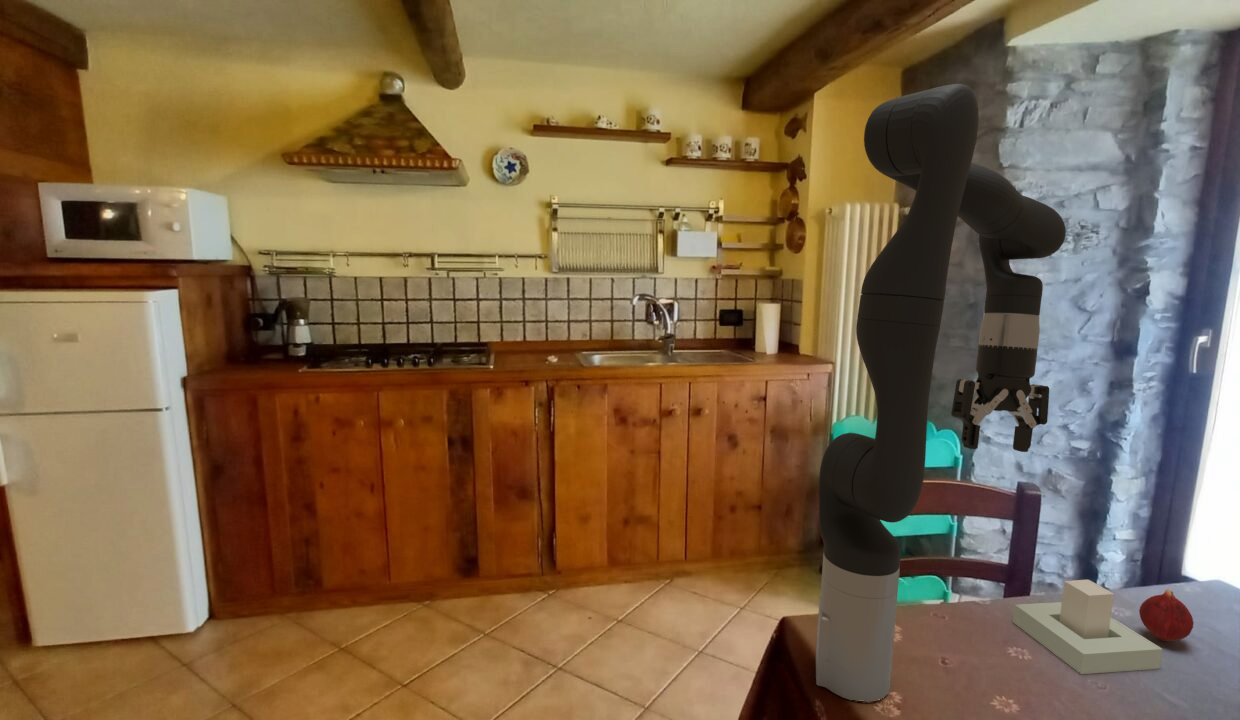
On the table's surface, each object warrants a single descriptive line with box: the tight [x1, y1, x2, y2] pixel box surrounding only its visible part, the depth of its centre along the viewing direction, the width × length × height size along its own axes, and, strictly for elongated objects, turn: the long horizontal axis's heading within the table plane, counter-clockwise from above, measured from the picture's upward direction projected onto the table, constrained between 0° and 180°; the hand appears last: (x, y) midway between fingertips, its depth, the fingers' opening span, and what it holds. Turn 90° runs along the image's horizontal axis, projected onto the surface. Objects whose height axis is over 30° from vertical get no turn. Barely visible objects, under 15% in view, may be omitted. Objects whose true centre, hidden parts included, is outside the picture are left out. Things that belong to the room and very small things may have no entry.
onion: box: [1138, 588, 1195, 642], centre depth 86 cm, size 6×6×8 cm
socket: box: [1012, 601, 1164, 675], centre depth 85 cm, size 12×12×3 cm
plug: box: [1059, 579, 1115, 639], centre depth 85 cm, size 4×4×9 cm
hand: (995, 449), depth 88 cm, fingers open, 8 cm apart
